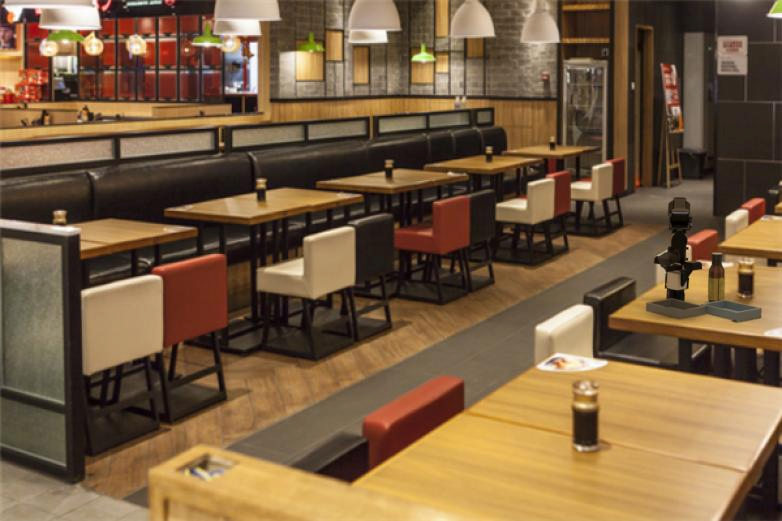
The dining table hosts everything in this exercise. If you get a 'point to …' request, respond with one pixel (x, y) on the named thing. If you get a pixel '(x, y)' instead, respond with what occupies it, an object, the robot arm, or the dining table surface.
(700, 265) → the robot arm
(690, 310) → the bin
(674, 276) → the stone block
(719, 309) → the bin
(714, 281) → the sauce bottle
